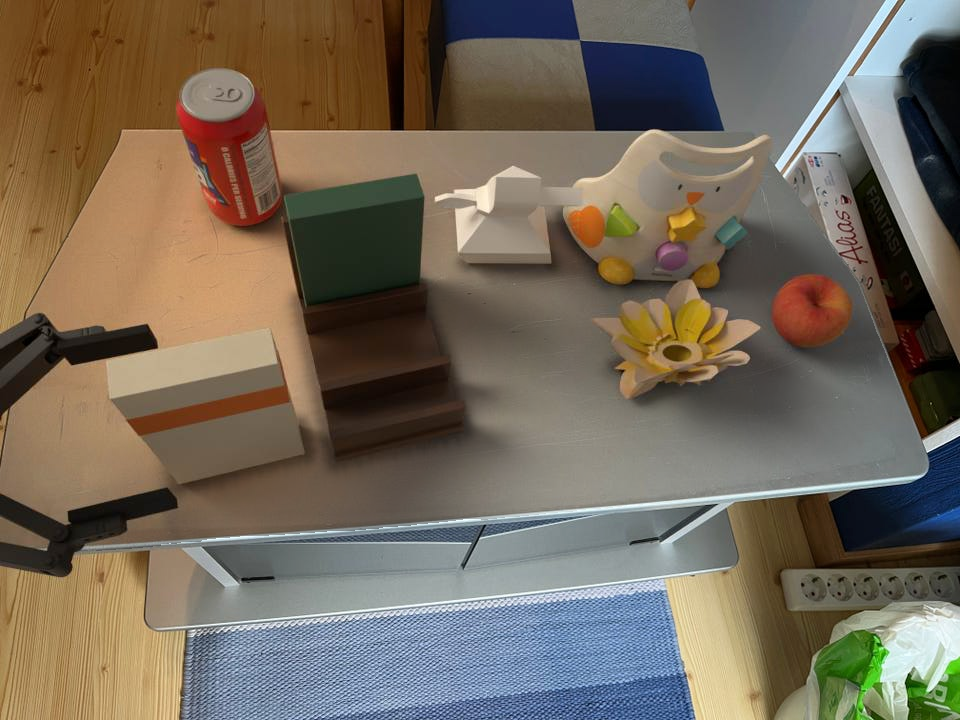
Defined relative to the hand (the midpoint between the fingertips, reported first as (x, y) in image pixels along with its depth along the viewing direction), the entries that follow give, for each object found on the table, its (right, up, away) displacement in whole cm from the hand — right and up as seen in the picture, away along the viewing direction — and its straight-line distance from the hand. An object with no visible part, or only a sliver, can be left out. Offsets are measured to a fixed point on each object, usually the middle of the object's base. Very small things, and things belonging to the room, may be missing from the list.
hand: (163, 412), depth 56 cm
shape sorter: (+43, +16, +27) cm, 53 cm away
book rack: (+14, +4, +17) cm, 22 cm away
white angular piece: (+26, +17, +25) cm, 39 cm away
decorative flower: (+43, +4, +20) cm, 48 cm away
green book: (+12, +10, +18) cm, 24 cm away
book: (+2, -4, +11) cm, 12 cm away
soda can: (-1, +21, +24) cm, 32 cm away
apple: (+57, +7, +24) cm, 62 cm away
